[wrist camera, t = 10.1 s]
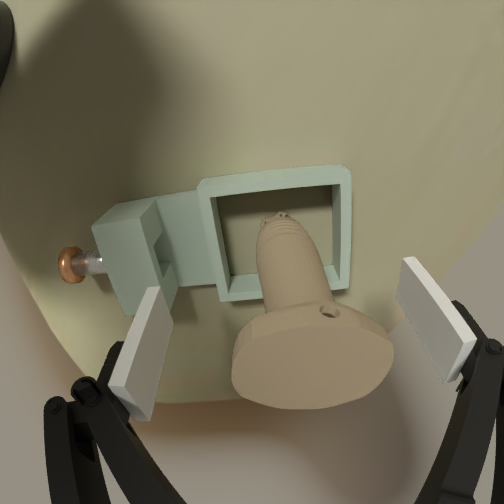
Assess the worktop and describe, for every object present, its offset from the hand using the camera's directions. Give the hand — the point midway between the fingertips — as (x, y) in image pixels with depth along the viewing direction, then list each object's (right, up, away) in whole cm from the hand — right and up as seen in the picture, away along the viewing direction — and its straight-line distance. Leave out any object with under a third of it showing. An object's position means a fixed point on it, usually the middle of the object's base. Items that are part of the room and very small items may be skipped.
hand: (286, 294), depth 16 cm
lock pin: (-15, +2, +9) cm, 17 cm away
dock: (-3, +4, +9) cm, 10 cm away
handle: (0, +4, +9) cm, 10 cm away
